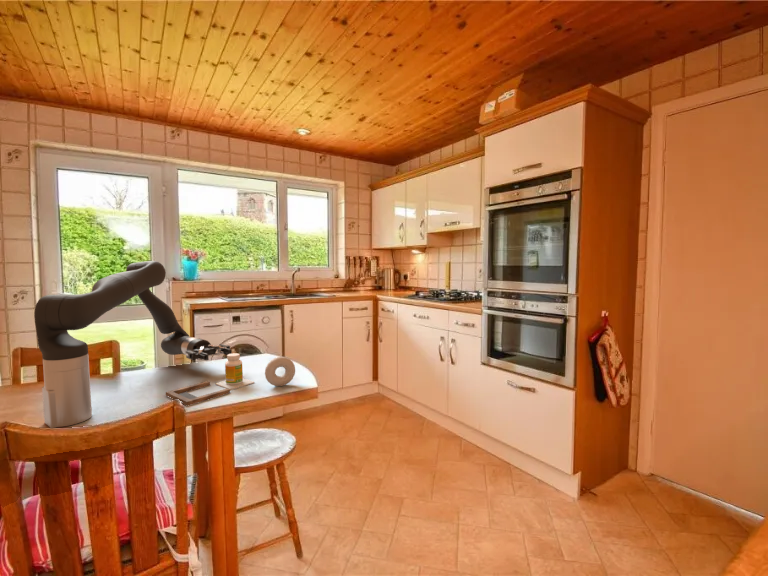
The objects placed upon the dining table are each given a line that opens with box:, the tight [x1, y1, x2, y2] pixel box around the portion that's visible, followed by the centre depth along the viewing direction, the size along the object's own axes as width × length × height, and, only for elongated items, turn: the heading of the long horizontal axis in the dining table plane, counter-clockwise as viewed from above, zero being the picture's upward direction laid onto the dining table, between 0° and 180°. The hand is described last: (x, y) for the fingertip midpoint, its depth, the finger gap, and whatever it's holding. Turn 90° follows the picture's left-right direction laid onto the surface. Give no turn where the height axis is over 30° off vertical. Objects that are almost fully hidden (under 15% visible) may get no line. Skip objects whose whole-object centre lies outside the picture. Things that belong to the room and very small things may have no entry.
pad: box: [215, 377, 255, 391], centre depth 131 cm, size 9×9×1 cm
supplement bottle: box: [224, 352, 244, 385], centre depth 131 cm, size 5×5×10 cm
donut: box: [264, 356, 296, 387], centre depth 129 cm, size 10×3×10 cm, turn 116°
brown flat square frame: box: [165, 380, 231, 407], centre depth 121 cm, size 14×14×1 cm
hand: (219, 354), depth 137 cm, fingers open, 8 cm apart
